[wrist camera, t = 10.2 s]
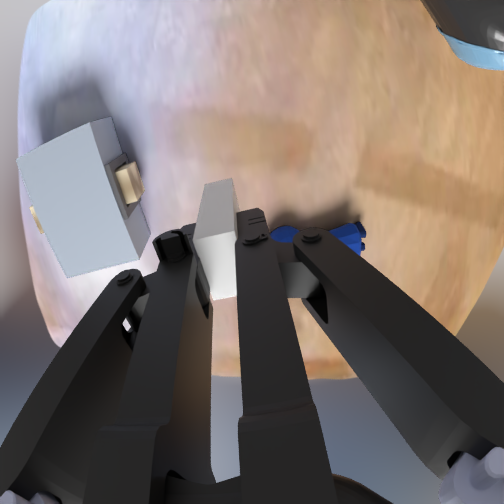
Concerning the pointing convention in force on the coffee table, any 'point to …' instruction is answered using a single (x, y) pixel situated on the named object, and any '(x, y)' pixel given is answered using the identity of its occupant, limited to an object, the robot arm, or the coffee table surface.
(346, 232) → the toy
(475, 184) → the coffee table surface
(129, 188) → the peg
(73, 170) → the sleeve block
